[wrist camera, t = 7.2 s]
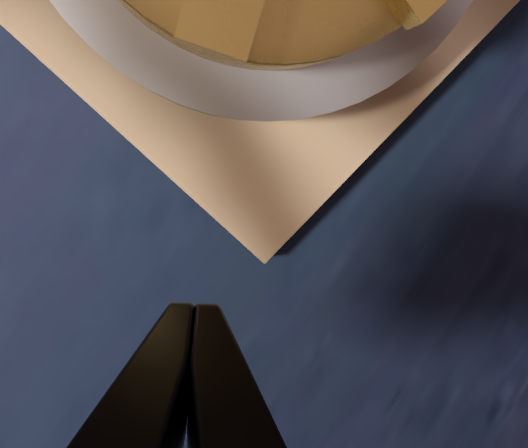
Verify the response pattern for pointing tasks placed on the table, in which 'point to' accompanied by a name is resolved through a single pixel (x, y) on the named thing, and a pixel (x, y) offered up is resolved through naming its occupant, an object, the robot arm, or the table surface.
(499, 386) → the table surface
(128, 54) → the cap housing
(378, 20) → the round base with post
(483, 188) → the table surface
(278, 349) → the table surface
